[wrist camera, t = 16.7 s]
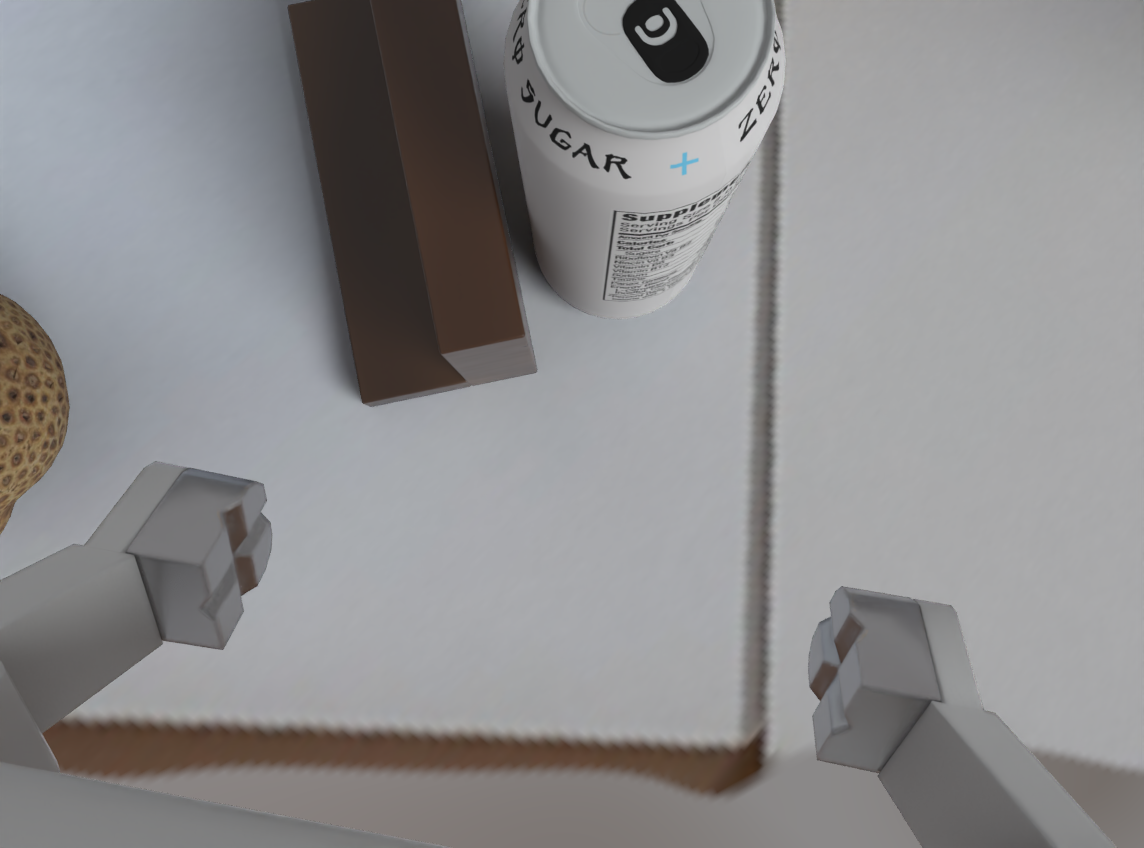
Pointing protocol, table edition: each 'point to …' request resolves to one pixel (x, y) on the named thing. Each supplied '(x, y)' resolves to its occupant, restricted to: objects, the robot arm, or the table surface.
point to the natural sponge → (27, 404)
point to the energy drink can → (636, 136)
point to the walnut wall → (411, 196)
